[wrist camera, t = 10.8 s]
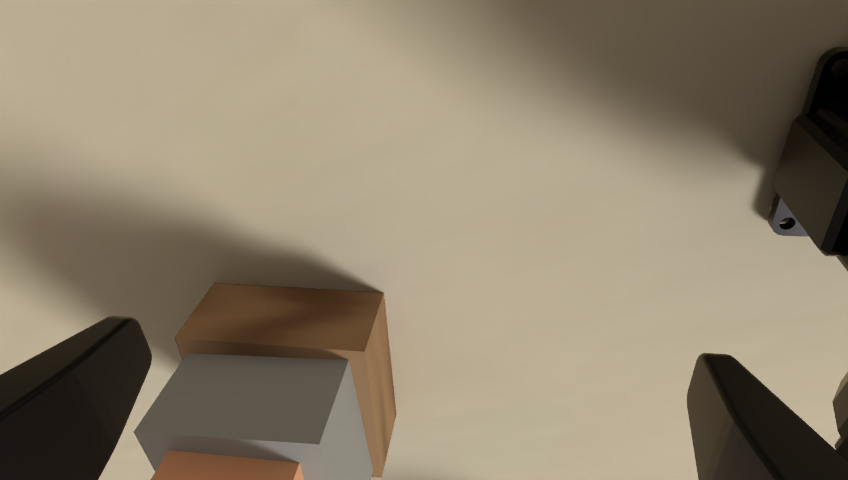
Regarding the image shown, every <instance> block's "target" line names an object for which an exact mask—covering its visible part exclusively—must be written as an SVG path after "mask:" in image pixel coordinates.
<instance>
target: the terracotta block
mask: <svg viewBox="0 0 848 480" xmlns="http://www.w3.org/2000/svg"><path fill="white" fill-rule="evenodd" d="M151 480H304V477H303V474H302V470H301V466H300V463H295V462H285V461H275V460H265V459H255V458H245V457H235V456H225V455H215V454H205V453H194V452H184V451H174V450H168V452H167V454H166V455H165V457H164V459H163V460H162V462H161V464H160V465H159V467H158V469H157V470H156V472H155V474H154V475H153V477H152V479H151Z"/></svg>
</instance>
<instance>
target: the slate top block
mask: <svg viewBox="0 0 848 480" xmlns="http://www.w3.org/2000/svg"><path fill="white" fill-rule="evenodd" d="M134 433H135V435H136V437H137V439H138V441H139V443H140V444H141V446H142V448H143V450H144V452H145V454H146V455H147V457H148V459H149V461H150V463H151V465H152V466H153V468H154V470H155V472H156V470H157V469H158V467H159V465H160V464H161V462H162V460H163V459H164V457H165V455H166V454H167V452H168V450H174V451H184V452H194V453H205V454H215V455H225V456H235V457H245V458H255V459H265V460H275V461H285V462H295V463H300V466H301V470H302V474H303V477H304V480H371V476H372V472H373V468H372V463H371V459H370V454H369V450H368V445H367V441H366V436H365V431H364V427H363V422H362V418H361V413H360V409H359V404H358V399H357V395H356V390H355V386H354V381H353V377H352V372H351V367H350V363H349V360H336V359H312V358H287V357H262V356H238V355H213V354H189V353H187V354H186V356H185V357H184V359H183V360H182V362H181V363H180V365H179V366H178V368H177V369H176V371H175V372H174V374H173V375H172V376H171V378H170V379H169V381H168V382H167V384H166V385H165V387H164V388H163V390H162V391H161V393H160V394H159V396H158V397H157V399H156V400H155V401H154V403H153V404H152V406H151V407H150V409H149V410H148V412H147V413H146V415H145V416H144V418H143V419H142V421H141V422H140V423H139V425H138V426H137V428H136V429H135V431H134Z"/></svg>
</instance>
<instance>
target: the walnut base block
mask: <svg viewBox="0 0 848 480" xmlns="http://www.w3.org/2000/svg"><path fill="white" fill-rule="evenodd" d="M175 340H176V343H177V346H178V348H179V351H180V354H181V356H182V359H184V357H185V356H186V354H187V353H189V354H213V355H238V356H262V357H287V358H312V359H336V360H349V363H350V367H351V372H352V377H353V381H354V386H355V390H356V395H357V399H358V404H359V409H360V413H361V418H362V422H363V427H364V431H365V436H366V441H367V445H368V450H369V454H370V459H371V463H372V468H373V472H372V477H381V478H382V474H383V470H384V465H385V461H386V457H387V452H388V448H389V444H390V439H391V435H392V431H393V426H394V422H395V418H396V407H395V397H394V387H393V378H392V368H391V358H390V348H389V339H388V329H387V319H386V309H385V299H384V293H378V292H360V291H343V290H326V289H309V288H291V287H274V286H257V285H240V284H222V283H214V284H213V286H212V287H211V289H210V290H209V291H208V293H207V294H206V295H205V297H204V298H203V300H202V301H201V302H200V304H199V305H198V306H197V308H196V309H195V311H194V312H193V313H192V315H191V316H190V317H189V319H188V320H187V322H186V323H185V324H184V326H183V327H182V328H181V330H180V331H179V333H178V334H177V335H176V337H175Z"/></svg>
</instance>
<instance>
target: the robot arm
mask: <svg viewBox="0 0 848 480" xmlns="http://www.w3.org/2000/svg"><path fill="white" fill-rule="evenodd" d="M841 59H845V64H844V65H843V67H842V68H841V69H839V70H838V71H834V72H832V66H833V65H834V63H835V62H837V61H838V60H841ZM773 188H774V190H775V191H776V195H775V198H774V201H773V204H772V208H771V211H770V214H769V217H768V223H769V225H770V226H771V228H772V229H773V231H774V232H775V233H777V234H778V235H783V236H809V237H810V238H811V239H812V241H813V242H814V243H815V245H816V246H817V247H818V249H819V250H820V251H821V252H822V253H823V254H824V255H825V256H836V257H837V258H838V259H839V260H840V262H841V263H842V264H843V266H844V267H845V268H846V269H847V271H848V47H837V48H833V49H831V50H829V51H827V52H826V53H825V54H824V55H823V56H822V57H821V58H820V60H819V62H818V64H817V67H816V70H815V73H814V76H813V79H812V82H811V85H810V89H809V92H808V95H807V98H806V101H805V104H804V107H803V110H802V113H801V114H800V115H799V116H797V117H796V118H795V119H794V120H793V121H792V124H791V128H790V131H789V134H788V137H787V140H786V144H785V147H784V150H783V153H782V156H781V160H780V163H779V166H778V169H777V172H776V176H775V179H774V182H773ZM788 217H791V219H790V221H788V222H787V223H784V224H780V222H781V221H782V220H783V219H785V218H788ZM151 360H152V355H151V350H150V348H149V346H148V343H147V341H146V338H145V336H144V334H143V331H142V329H141V326H140V324H139V322H138V321H137V320H136V319H135V318H132V317H122V316H111V317H107V318H105V319H103V320H102V321H100V322H98V323H96V324H94V325H92V326H90V327H89V328H87V329H85V330H83V331H81V332H79V333H77V334H76V335H74V336H72V337H70V338H68V339H66V340H64V341H63V342H61V343H59V344H57V345H55V346H53V347H51V348H49V349H48V350H46V351H44V352H42V353H40V354H38V355H36V356H35V357H33V358H31V359H29V360H27V361H25V362H23V363H22V364H20V365H18V366H16V367H14V368H12V369H10V370H8V371H7V372H5V373H3V374H1V375H0V480H98V479H99V477H100V475H101V473H102V472H103V470H104V468H105V466H106V464H107V462H108V461H109V459H110V457H111V455H112V453H113V451H114V449H115V447H116V445H117V443H118V440H119V438H120V436H121V434H122V432H123V429H124V427H125V425H126V422H127V420H128V418H129V415H130V413H131V411H132V408H133V406H134V404H135V401H136V399H137V397H138V394H139V392H140V390H141V387H142V385H143V383H144V380H145V378H146V375H147V373H148V371H149V368H150V365H151ZM833 407H834V412H835V418H836V423H837V429H838V432H839V434H840V436H841V437H840V438H839V439H838V441H837V442H836V444H835V448H836V450H835V449H834V448H833V447H832V446H831V445H829V444H828V443H827V442H826V441H825V440H824V439H823V438H822V437H821V436H820V435H818V434H817V433H816V432H815V431H814V430H813V429H812V428H811V427H810V426H809V425H807V424H806V423H805V422H804V421H803V420H802V419H801V418H800V417H799V416H798V415H796V414H795V413H794V412H793V411H792V410H791V409H790V408H789V407H788V406H787V405H785V404H784V403H783V402H782V401H781V400H780V399H779V398H778V397H777V396H776V395H774V394H773V393H772V392H771V391H770V390H769V389H768V388H767V387H766V386H765V385H764V384H762V383H761V382H760V381H759V380H758V379H757V378H756V377H755V376H754V375H753V374H751V373H750V372H749V371H748V370H747V369H746V368H745V367H744V366H743V365H742V364H740V363H739V362H738V361H737V360H736V359H735V358H734V357H732V356H730V355H727V354H713V353H703V354H701V355H700V356H699V357H698V359H697V361H696V364H695V368H694V371H693V375H692V378H691V382H690V385H689V389H688V394H687V408H688V414H689V421H690V427H691V434H692V440H693V446H694V453H695V459H696V466H697V472H698V478H699V480H848V372H847V374H846V375H845V377H844V378H843V379H842V381H841V383H840V385H839V387H838V390H837V392H836V395H835V397H834V400H833Z"/></svg>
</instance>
